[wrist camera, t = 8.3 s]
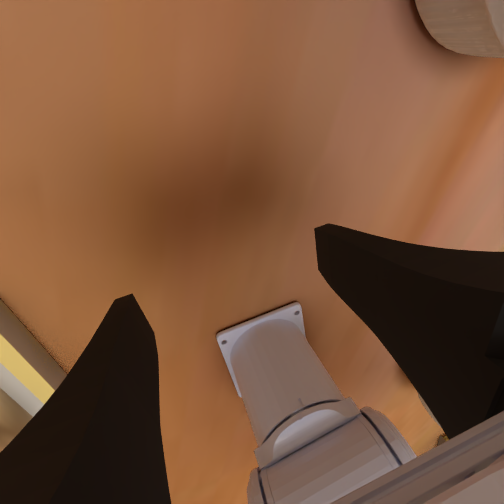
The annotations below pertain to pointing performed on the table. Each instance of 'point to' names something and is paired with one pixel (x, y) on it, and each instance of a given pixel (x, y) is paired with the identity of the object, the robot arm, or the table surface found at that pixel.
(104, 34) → the table surface
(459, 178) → the table surface
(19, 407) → the tan hollow block
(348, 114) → the table surface
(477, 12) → the ramekin
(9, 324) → the dock
